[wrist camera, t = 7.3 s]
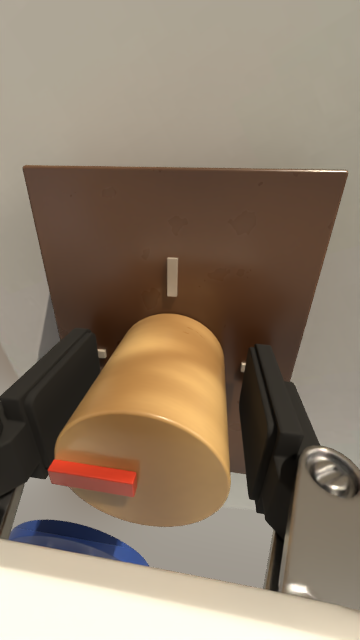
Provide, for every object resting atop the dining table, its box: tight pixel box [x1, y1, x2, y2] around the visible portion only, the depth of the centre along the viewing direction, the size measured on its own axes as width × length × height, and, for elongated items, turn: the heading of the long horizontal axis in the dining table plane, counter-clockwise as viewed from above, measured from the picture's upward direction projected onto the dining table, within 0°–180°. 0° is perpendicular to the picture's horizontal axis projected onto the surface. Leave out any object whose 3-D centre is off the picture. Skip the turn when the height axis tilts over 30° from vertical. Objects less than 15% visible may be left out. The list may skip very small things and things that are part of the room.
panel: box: [23, 165, 348, 474], centre depth 12 cm, size 14×10×3 cm
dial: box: [48, 314, 231, 527], centre depth 8 cm, size 4×4×5 cm
